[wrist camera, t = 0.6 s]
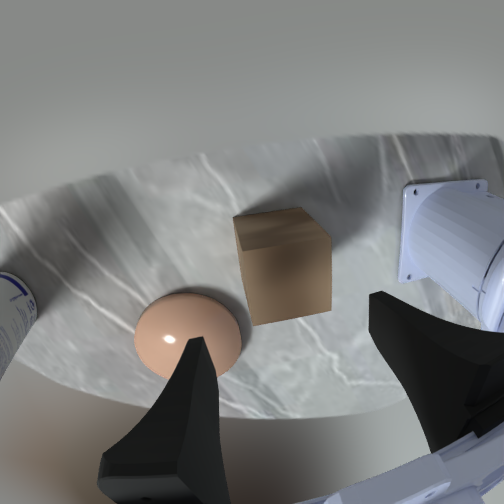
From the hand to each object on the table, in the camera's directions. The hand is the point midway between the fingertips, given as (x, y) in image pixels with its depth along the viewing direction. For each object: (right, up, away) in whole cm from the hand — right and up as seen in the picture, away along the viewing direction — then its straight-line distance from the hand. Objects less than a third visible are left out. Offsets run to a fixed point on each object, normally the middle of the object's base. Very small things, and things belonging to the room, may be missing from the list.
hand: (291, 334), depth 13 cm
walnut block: (0, +4, +9) cm, 9 cm away
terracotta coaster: (-6, -3, +11) cm, 13 cm away
